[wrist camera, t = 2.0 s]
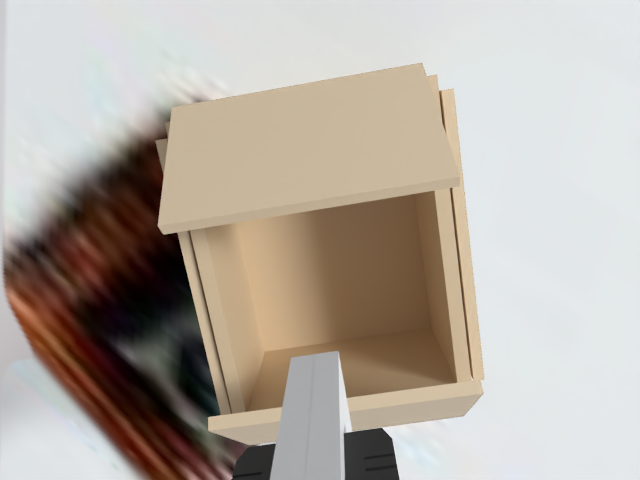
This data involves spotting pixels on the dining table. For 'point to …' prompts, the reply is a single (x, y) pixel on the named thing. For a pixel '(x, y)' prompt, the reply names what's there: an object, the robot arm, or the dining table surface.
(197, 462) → the dining table surface
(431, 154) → the near flap
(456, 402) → the far flap
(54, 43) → the dining table surface
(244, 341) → the carton
